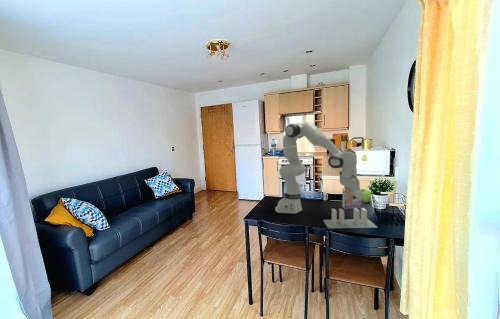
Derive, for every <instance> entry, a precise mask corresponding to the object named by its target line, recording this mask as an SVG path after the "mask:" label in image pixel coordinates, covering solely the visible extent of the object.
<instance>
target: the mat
mask: <svg viewBox="0 0 500 319" xmlns="http://www.w3.org/2000/svg"><path fill="white" fill-rule="evenodd" d="M322 221H323V223H324V224H325V225H326V227H327V228H328V229H354V228H355V229H358V228H359V229H360V228H361V229H363V228H364V229H366V228H378V226H377V225H376V224H375V223H374V222H372V221H371V220H370V219H369V218H367V225H364V224H363V223H362V222H361V218H359V225H356V224H355V223H354V218H352V219H351V218H349V219H348V218H346V219H345V218H344V225H341V224H340V223H339V219H337V225H333V223H332V219H323V220H322Z"/></svg>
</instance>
